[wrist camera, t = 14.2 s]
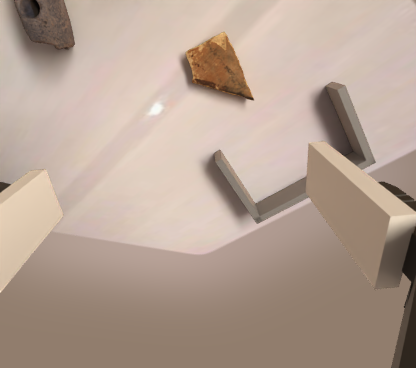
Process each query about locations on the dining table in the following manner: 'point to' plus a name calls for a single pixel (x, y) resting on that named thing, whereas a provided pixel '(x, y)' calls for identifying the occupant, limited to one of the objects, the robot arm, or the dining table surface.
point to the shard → (218, 67)
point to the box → (298, 190)
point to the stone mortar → (46, 22)
